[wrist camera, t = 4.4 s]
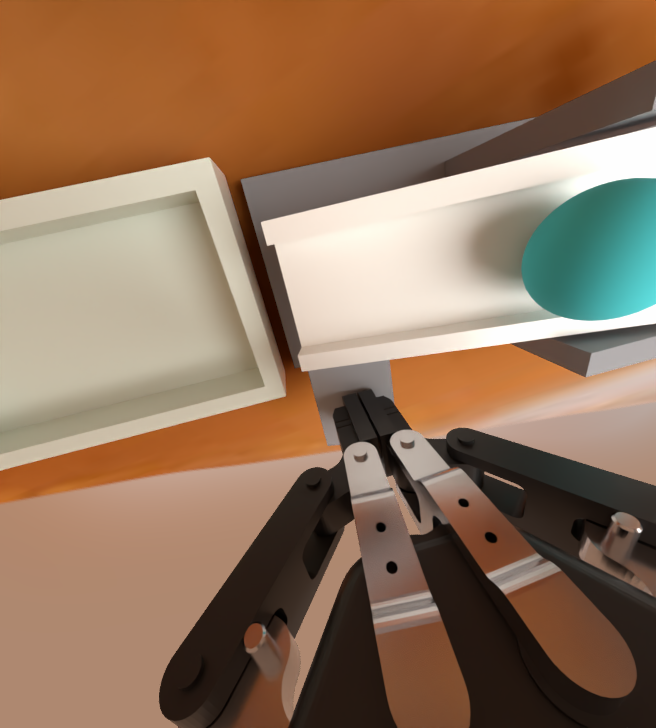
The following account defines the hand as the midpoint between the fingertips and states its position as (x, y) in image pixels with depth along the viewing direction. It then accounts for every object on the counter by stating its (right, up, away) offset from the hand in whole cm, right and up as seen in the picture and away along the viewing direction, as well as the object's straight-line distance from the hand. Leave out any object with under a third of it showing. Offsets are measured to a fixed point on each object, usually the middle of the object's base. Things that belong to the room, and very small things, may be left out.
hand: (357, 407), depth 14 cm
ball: (+7, +6, -6) cm, 11 cm away
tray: (-16, +4, +2) cm, 16 cm away
